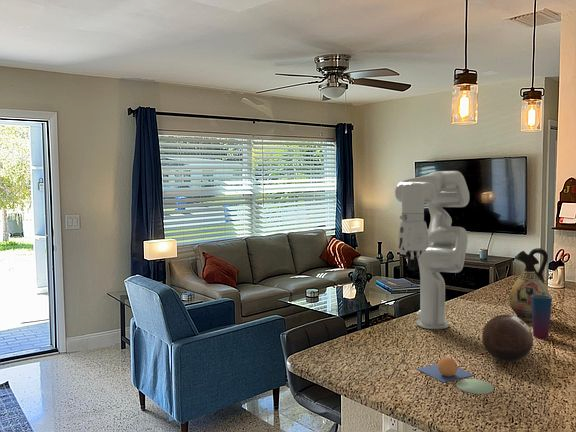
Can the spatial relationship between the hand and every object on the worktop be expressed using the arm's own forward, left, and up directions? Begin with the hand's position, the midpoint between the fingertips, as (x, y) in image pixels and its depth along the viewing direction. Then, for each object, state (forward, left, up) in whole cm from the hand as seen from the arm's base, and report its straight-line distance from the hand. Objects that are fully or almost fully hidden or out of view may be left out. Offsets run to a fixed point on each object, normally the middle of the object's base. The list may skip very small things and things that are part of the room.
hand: (412, 269), depth 179 cm
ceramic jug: (-2, +63, -27) cm, 69 cm away
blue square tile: (+25, -8, -27) cm, 38 cm away
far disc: (+37, -8, -27) cm, 47 cm away
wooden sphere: (+27, +16, -27) cm, 42 cm away
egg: (+28, -9, -24) cm, 38 cm away
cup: (+15, +47, -27) cm, 56 cm away
